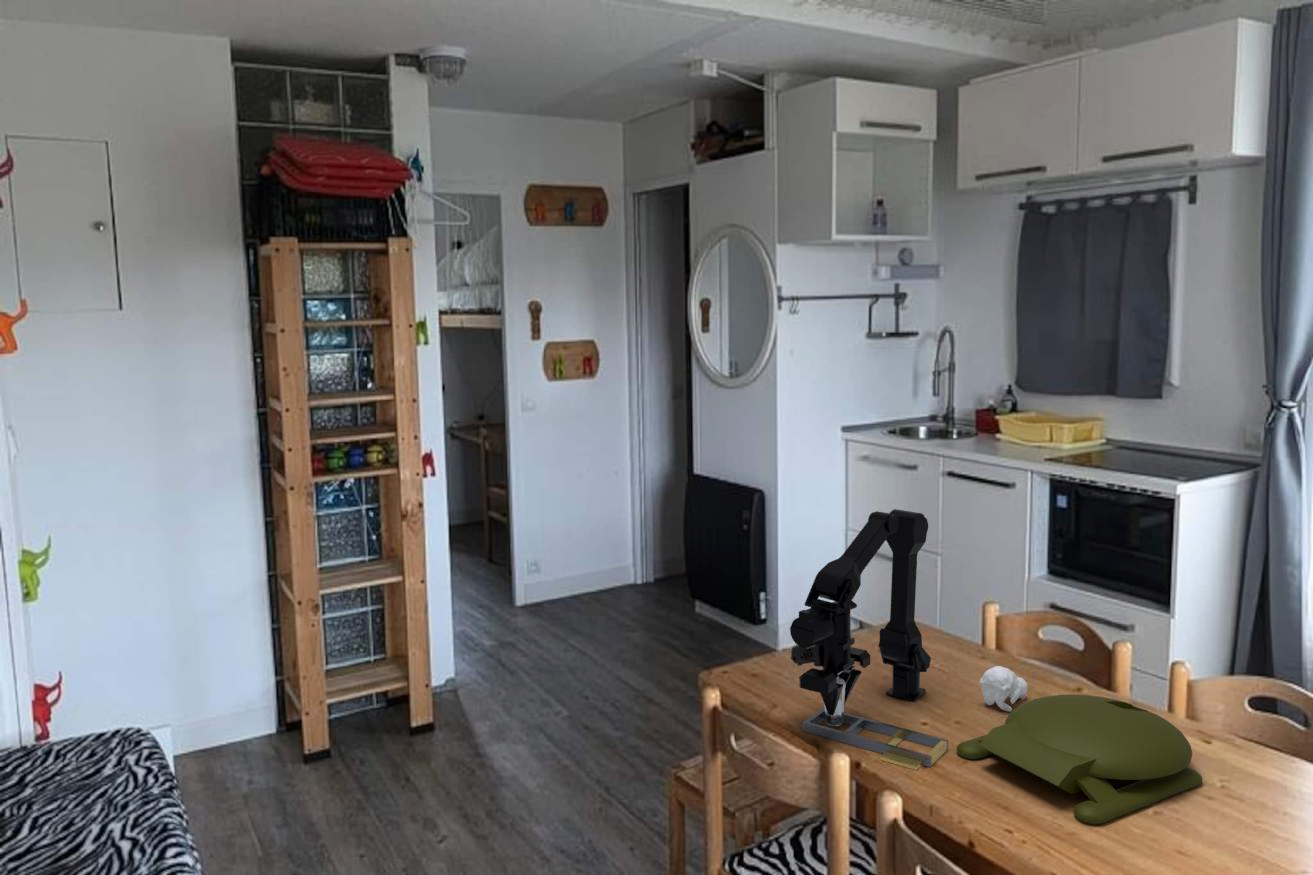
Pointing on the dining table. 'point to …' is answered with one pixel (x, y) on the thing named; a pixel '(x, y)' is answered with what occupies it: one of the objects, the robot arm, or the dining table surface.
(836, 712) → the milkshake
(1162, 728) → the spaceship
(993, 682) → the white bear figurine
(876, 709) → the dining table surface
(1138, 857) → the dining table surface
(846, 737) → the rail
